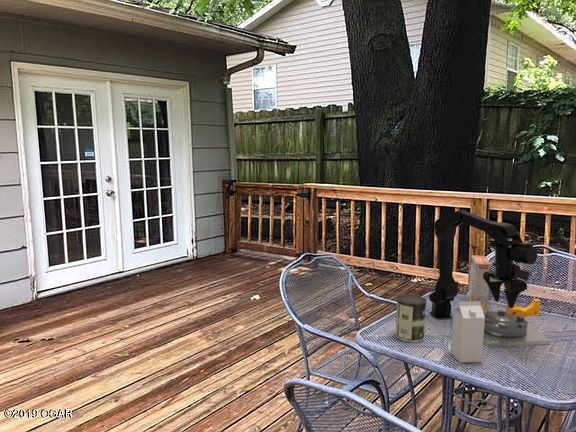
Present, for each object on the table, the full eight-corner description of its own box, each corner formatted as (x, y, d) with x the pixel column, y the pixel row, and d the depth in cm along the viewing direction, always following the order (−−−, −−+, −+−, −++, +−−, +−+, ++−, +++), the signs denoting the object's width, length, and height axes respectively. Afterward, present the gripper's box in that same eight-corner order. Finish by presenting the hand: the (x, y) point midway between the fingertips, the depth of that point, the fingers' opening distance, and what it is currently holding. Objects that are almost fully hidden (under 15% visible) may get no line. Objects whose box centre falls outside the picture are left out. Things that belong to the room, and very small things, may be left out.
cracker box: (487, 313, 194) (491, 263, 190) (471, 312, 195) (475, 262, 191) (482, 302, 207) (485, 255, 204) (467, 300, 208) (471, 254, 205)
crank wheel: (509, 318, 184) (511, 295, 182) (537, 336, 167) (539, 311, 166) (467, 319, 182) (469, 296, 180) (492, 338, 165) (494, 313, 164)
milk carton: (450, 353, 158) (454, 298, 155) (471, 352, 158) (475, 297, 155) (459, 363, 151) (464, 306, 148) (481, 362, 151) (486, 305, 148)
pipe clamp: (510, 316, 191) (511, 301, 190) (506, 312, 195) (507, 297, 194) (541, 317, 190) (542, 302, 189) (536, 313, 194) (537, 298, 193)
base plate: (488, 347, 162) (489, 334, 162) (456, 321, 185) (457, 310, 184) (550, 344, 165) (551, 332, 164) (511, 319, 188) (512, 308, 187)
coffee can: (423, 332, 175) (425, 295, 172) (425, 343, 165) (427, 304, 162) (394, 329, 177) (396, 293, 174) (395, 341, 167) (396, 302, 164)
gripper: (542, 264, 156) (542, 310, 157) (511, 254, 174) (511, 296, 176) (510, 265, 155) (510, 312, 156) (482, 256, 173) (482, 298, 175)
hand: (504, 304), depth 166 cm, fingers open, 9 cm apart
